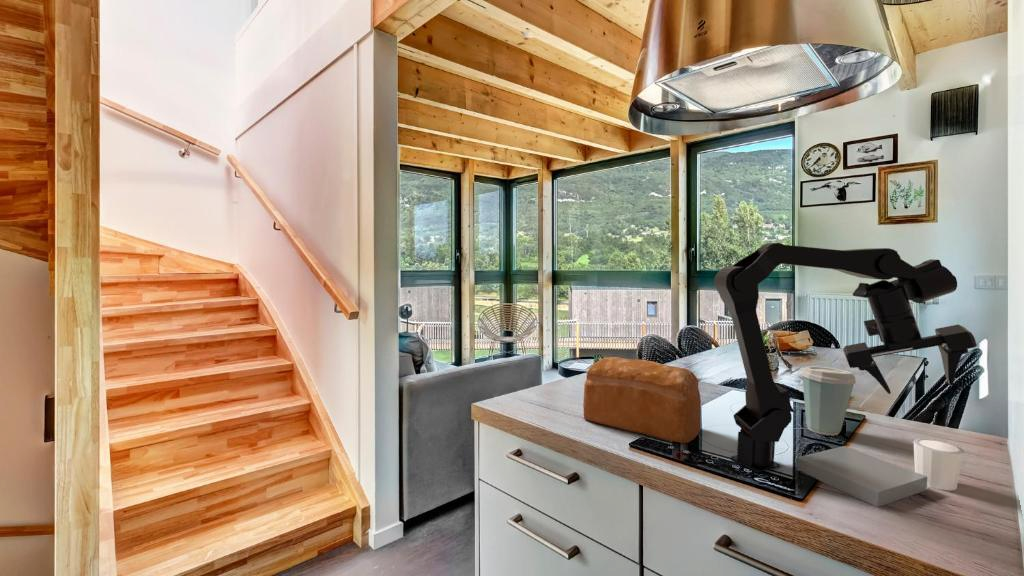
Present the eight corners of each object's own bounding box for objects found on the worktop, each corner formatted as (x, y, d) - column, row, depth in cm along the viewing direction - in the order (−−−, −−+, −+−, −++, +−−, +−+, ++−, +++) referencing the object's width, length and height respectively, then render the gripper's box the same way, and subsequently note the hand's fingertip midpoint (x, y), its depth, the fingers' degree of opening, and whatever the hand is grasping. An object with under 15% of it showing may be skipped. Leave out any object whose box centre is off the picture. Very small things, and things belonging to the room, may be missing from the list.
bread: (603, 406, 126) (604, 349, 125) (704, 429, 110) (706, 363, 109) (578, 421, 115) (579, 358, 114) (686, 448, 99) (689, 376, 98)
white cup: (972, 494, 81) (975, 455, 80) (926, 490, 82) (929, 451, 82) (944, 475, 87) (947, 439, 87) (902, 472, 89) (904, 436, 88)
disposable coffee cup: (792, 420, 116) (795, 361, 115) (843, 425, 112) (846, 364, 111) (804, 436, 106) (808, 371, 105) (860, 442, 102) (865, 375, 101)
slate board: (877, 506, 76) (878, 492, 76) (796, 470, 89) (796, 457, 89) (926, 490, 82) (927, 476, 82) (843, 457, 95) (844, 445, 95)
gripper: (942, 288, 89) (968, 363, 90) (829, 313, 99) (853, 381, 100) (963, 302, 80) (992, 386, 80) (836, 328, 90) (862, 403, 90)
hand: (919, 388), depth 88 cm, fingers open, 9 cm apart
